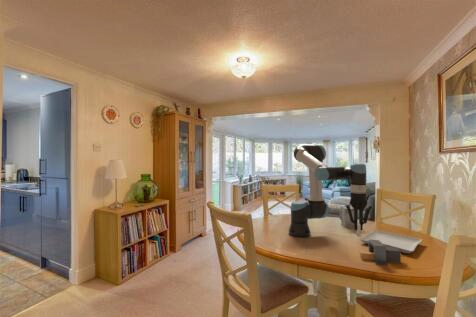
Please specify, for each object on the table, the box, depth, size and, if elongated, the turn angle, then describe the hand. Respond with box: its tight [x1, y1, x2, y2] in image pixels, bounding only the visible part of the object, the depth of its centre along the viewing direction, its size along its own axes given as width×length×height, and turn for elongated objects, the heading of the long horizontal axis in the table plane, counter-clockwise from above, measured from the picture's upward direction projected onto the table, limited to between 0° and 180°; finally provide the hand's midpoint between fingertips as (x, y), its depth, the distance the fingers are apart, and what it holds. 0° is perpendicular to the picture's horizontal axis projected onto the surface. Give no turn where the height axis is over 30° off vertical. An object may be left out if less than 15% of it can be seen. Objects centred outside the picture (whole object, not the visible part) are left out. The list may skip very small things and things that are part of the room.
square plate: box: [359, 229, 423, 254], centre depth 142 cm, size 27×27×4 cm
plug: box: [359, 247, 404, 264], centre depth 120 cm, size 19×5×6 cm, turn 76°
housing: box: [368, 240, 389, 266], centre depth 120 cm, size 5×13×9 cm, turn 167°
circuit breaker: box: [338, 206, 354, 229], centre depth 183 cm, size 8×14×15 cm, turn 174°
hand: (358, 235), depth 123 cm, fingers closed
